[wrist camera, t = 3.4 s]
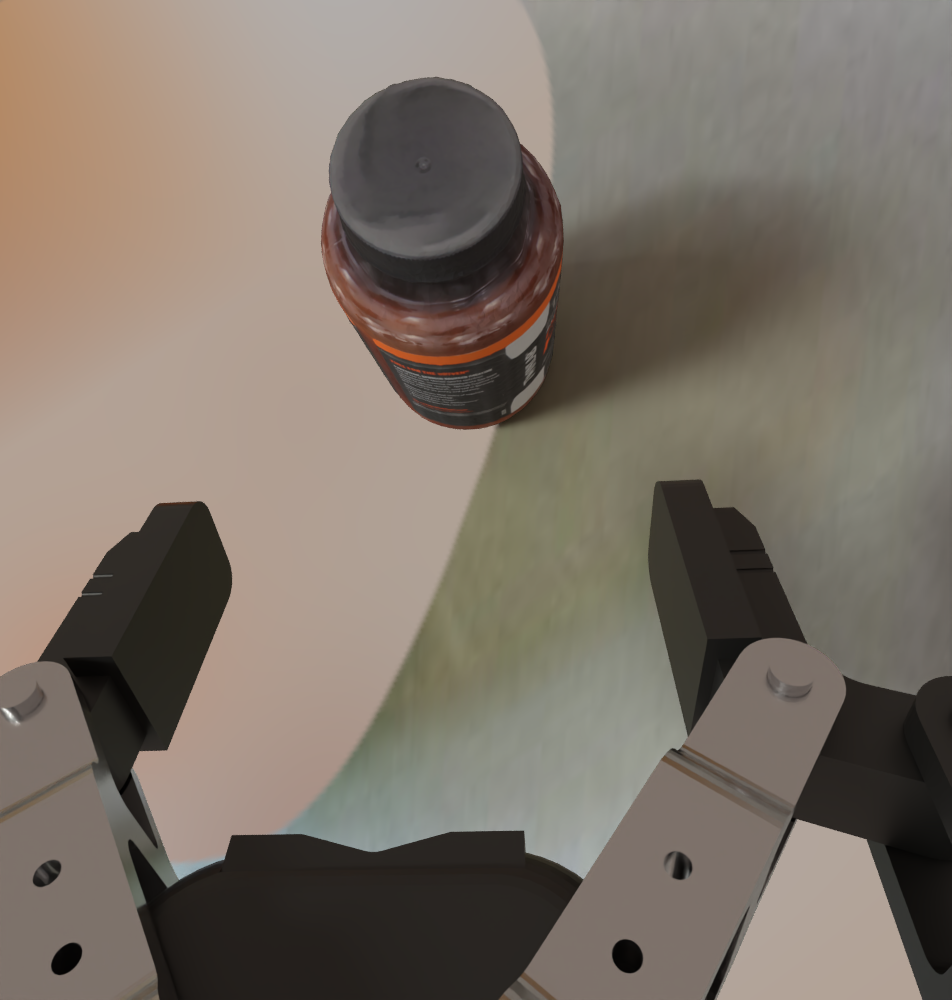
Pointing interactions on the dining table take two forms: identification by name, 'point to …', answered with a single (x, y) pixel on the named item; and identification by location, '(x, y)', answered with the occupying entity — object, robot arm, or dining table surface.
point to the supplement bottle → (445, 250)
